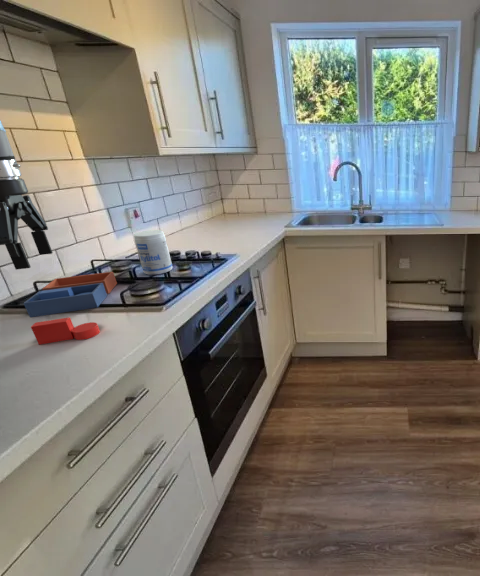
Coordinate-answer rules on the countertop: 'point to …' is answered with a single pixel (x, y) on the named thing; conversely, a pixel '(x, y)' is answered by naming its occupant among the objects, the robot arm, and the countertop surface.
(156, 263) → the supplement tub
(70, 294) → the blue spoon
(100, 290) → the blue bin
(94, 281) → the red bin
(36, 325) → the red spoon
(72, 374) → the countertop surface
